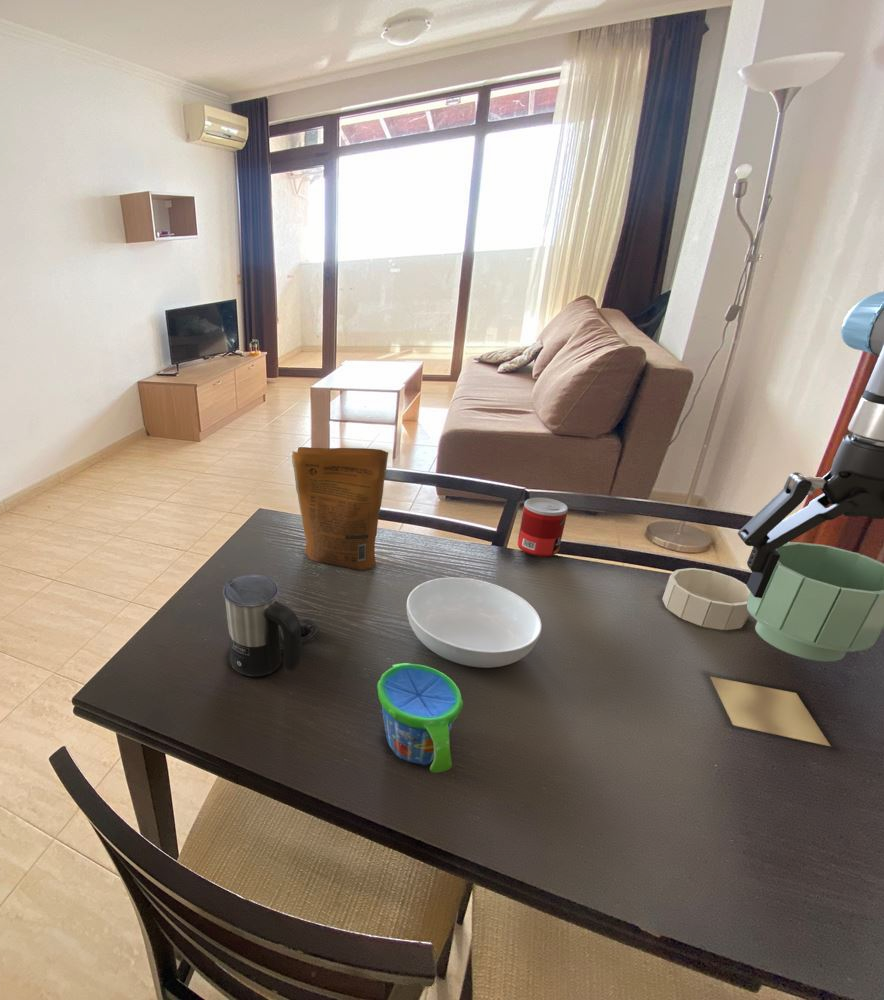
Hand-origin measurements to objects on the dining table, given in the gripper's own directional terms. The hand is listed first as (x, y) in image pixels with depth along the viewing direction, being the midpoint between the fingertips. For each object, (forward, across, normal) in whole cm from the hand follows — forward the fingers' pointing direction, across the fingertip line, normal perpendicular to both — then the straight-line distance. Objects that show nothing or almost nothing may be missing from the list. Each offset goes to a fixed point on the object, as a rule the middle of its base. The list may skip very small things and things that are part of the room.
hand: (817, 600), depth 68 cm
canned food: (+19, -26, +39) cm, 51 cm away
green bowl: (+6, 0, 0) cm, 6 cm away
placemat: (+19, 0, 0) cm, 19 cm away
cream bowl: (+19, -1, +24) cm, 31 cm away
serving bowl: (+19, -39, +2) cm, 44 cm away
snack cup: (+19, -45, -23) cm, 54 cm away
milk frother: (+20, -70, -11) cm, 73 cm away
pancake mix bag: (+19, -66, +21) cm, 72 cm away
